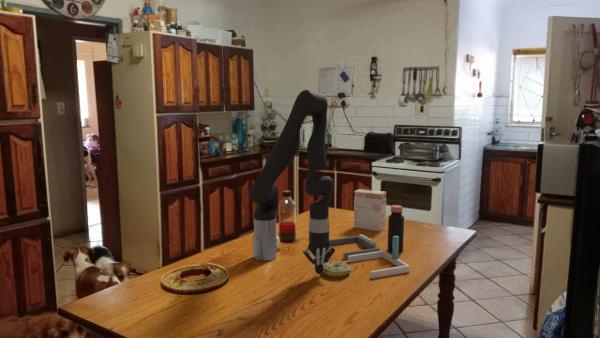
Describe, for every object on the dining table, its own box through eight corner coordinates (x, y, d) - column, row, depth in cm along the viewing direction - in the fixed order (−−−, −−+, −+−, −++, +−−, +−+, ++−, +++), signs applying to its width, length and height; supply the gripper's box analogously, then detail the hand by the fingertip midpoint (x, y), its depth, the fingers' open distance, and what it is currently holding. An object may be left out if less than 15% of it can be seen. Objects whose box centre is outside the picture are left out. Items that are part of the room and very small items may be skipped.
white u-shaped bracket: (371, 278, 172) (372, 249, 171) (347, 261, 190) (348, 234, 188) (411, 271, 179) (412, 243, 177) (384, 255, 196) (385, 229, 195)
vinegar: (386, 251, 202) (387, 207, 198) (389, 246, 208) (390, 203, 205) (401, 253, 199) (403, 208, 196) (404, 248, 205) (405, 205, 202)
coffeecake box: (385, 228, 236) (386, 191, 233) (380, 232, 230) (381, 194, 227) (359, 224, 244) (359, 188, 241) (353, 227, 238) (353, 190, 235)
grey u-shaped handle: (344, 259, 193) (344, 248, 192) (325, 245, 210) (325, 236, 209) (380, 253, 199) (380, 243, 198) (358, 240, 216) (359, 231, 216)
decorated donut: (355, 273, 178) (356, 264, 177) (338, 281, 170) (339, 272, 169) (334, 266, 185) (334, 257, 184) (317, 274, 177) (317, 265, 176)
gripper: (330, 224, 177) (330, 267, 180) (298, 228, 172) (299, 272, 175) (339, 230, 170) (339, 274, 173) (306, 234, 166) (306, 279, 168)
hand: (318, 273), depth 174 cm, fingers closed
